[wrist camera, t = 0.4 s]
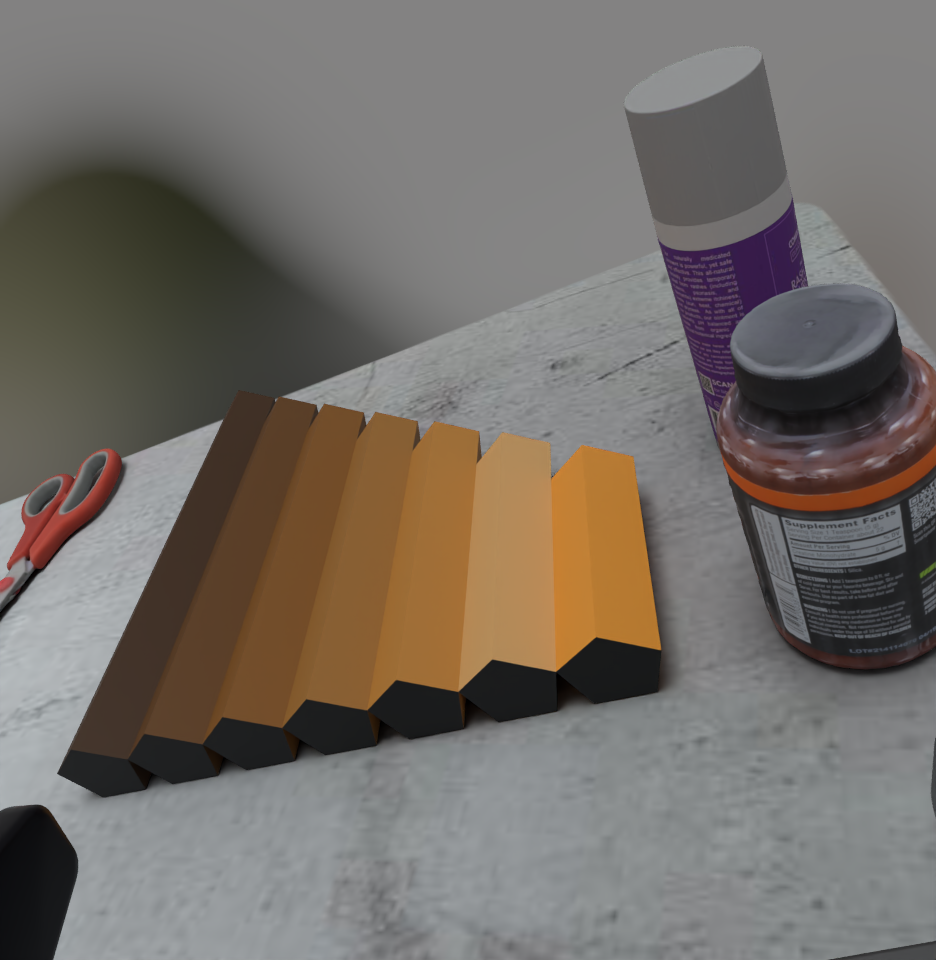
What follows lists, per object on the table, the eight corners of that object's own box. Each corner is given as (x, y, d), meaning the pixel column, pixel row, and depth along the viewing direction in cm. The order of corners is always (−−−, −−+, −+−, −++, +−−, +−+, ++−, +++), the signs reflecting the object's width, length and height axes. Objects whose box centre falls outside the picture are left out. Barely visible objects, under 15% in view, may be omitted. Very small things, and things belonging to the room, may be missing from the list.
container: (854, 436, 34) (793, 57, 25) (743, 483, 34) (645, 127, 26) (799, 380, 38) (730, 34, 29) (700, 423, 38) (602, 96, 29)
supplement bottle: (788, 531, 32) (724, 269, 25) (973, 543, 28) (956, 243, 22) (749, 663, 28) (663, 399, 22) (954, 695, 25) (927, 392, 18)
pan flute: (243, 438, 55) (90, 799, 36) (214, 398, 53) (35, 756, 34) (619, 317, 48) (676, 687, 29) (601, 264, 46) (650, 625, 27)
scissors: (-100, 735, 45) (-122, 720, 44) (49, 487, 62) (35, 472, 61) (15, 700, 43) (-6, 684, 42) (136, 453, 60) (124, 438, 59)
